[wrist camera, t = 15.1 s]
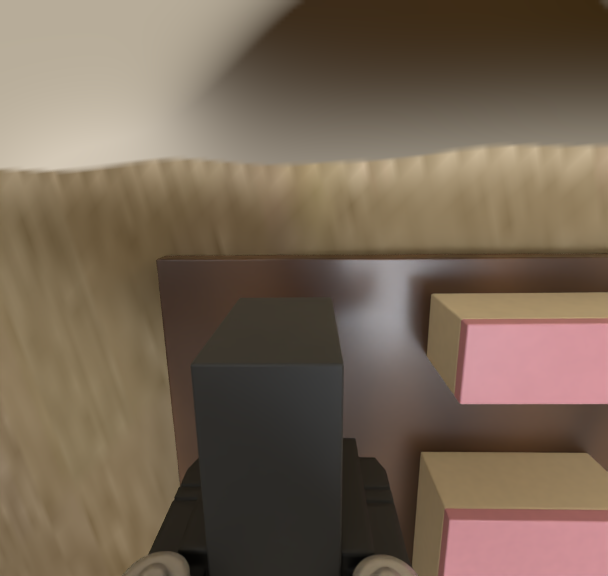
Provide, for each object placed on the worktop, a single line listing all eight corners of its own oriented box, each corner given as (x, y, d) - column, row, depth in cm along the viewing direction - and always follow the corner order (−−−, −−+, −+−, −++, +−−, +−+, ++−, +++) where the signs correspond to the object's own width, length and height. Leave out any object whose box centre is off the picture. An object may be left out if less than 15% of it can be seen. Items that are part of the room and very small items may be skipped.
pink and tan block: (426, 356, 17) (459, 404, 13) (430, 293, 16) (467, 324, 12) (605, 356, 17) (693, 404, 13) (618, 291, 16) (714, 322, 12)
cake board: (198, 592, 22) (192, 611, 21) (164, 255, 17) (155, 259, 16) (631, 599, 22) (646, 618, 21) (723, 252, 17) (749, 256, 16)
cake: (409, 593, 20) (432, 687, 17) (420, 450, 18) (449, 520, 14) (558, 595, 20) (616, 690, 16) (587, 451, 18) (662, 522, 14)
